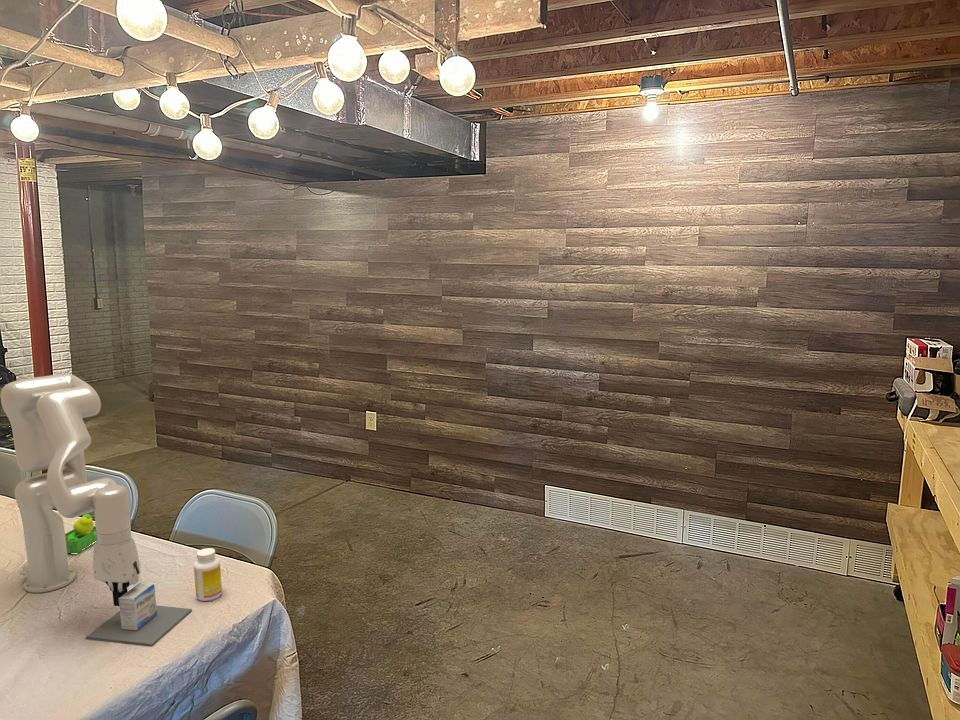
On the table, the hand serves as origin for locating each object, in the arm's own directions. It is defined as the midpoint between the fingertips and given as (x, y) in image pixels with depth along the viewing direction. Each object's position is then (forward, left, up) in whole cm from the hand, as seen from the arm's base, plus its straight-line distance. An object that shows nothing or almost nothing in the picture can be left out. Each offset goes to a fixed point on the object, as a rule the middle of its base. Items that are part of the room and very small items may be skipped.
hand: (121, 603), depth 169 cm
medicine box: (+5, 0, -5) cm, 7 cm away
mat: (+5, 0, -5) cm, 7 cm away
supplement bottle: (+14, +16, -6) cm, 22 cm away
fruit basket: (-43, +36, -6) cm, 56 cm away
